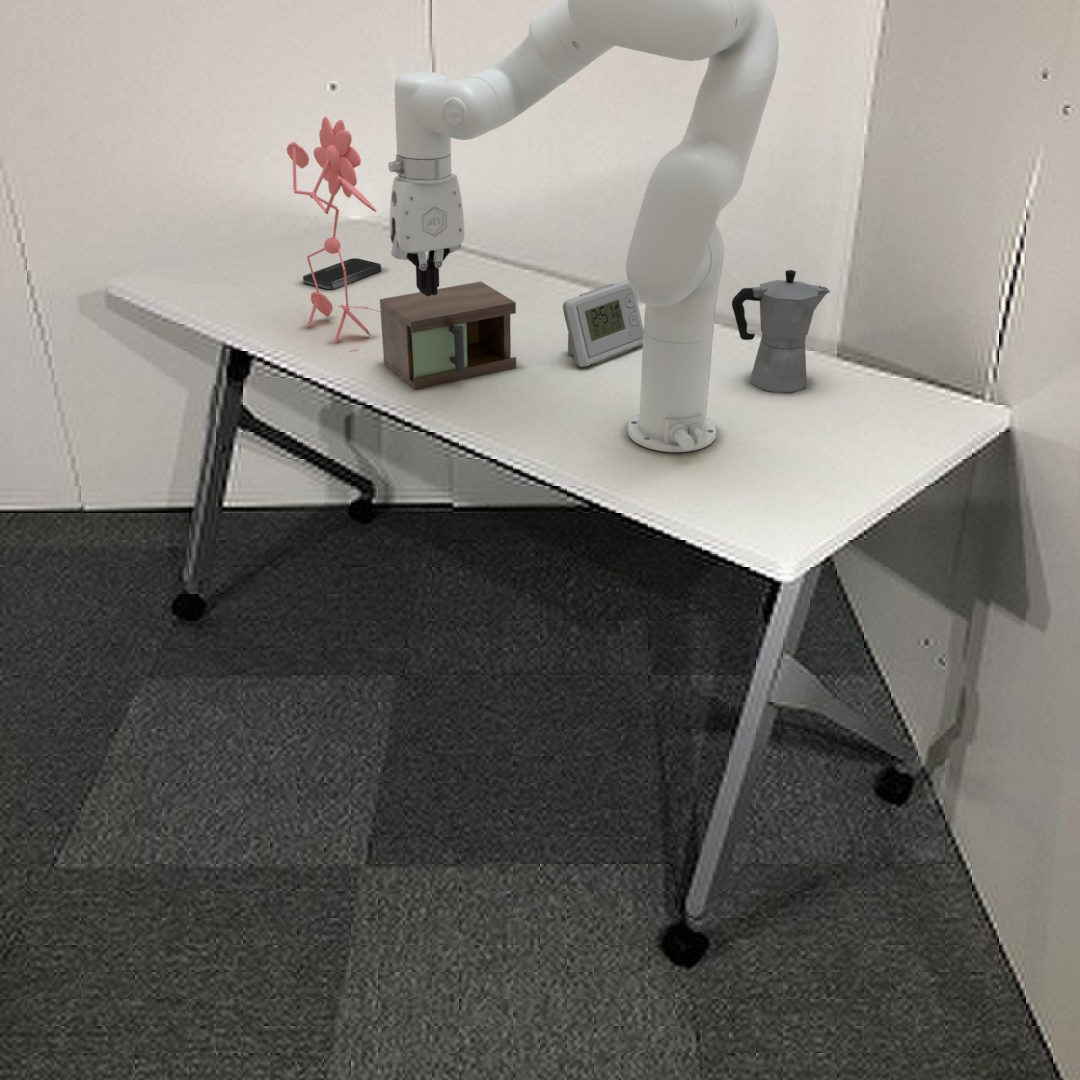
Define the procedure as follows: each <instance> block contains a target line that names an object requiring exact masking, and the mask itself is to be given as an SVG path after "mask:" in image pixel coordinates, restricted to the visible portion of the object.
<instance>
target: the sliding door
mask: <svg viewBox="0 0 1080 1080" xmlns="http://www.w3.org/2000/svg"><path fill="white" fill-rule="evenodd" d="M412 350H413V369H414V378H417V377H422V376H427V375H432V374H436V373H441V372H446V371H451V370H456V371H457V372H463V371H464V368H465V367H468V365H467V330H466V323H462V324H457V325H452V326H447V327H442V328H436V329H431V330H426V331H421V332H416V333H412Z"/></svg>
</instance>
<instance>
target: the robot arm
mask: <svg viewBox="0 0 1080 1080" xmlns="http://www.w3.org/2000/svg"><path fill="white" fill-rule="evenodd" d="M778 33H779V32H778V28H777V23H776V20H775V15H774V14H773V12H772V9H771V7H770V6H769V4H768V2H767V0H556V1H554V2H553V3H551V4H550V5H548V7H546V8H545V9H543V10H542V11H541V12H539V13H538V14H537V15H535V16H534V17H533V18H532V20H530V23H529V25H528V33H527V35H526V37H525V38H524V39H523V40H522V41H521V42H520V43H519V44H518V45H517V46H516V47H514V48H513V49H512V50H511V51H509V52H508V53H506V54H505V55H504V56H503V57H502V58H500V59H498V60H497V61H496V62H495V63H493V64H492V65H490V66H488V68H486V69H484V70H482V71H480V72H476V73H474V74H471V75H468V76H465V77H463V78H458V79H455V80H452V81H451V80H450V81H449V80H448V78H447V77H446V76H445V75H443V74H441V73H439V72H433V71H408V72H404V73H402V74H400V75H398V76H397V77H396V79H395V81H394V91H393V93H394V112H395V114H394V116H395V117H394V118H395V137H396V154H395V160H393V161H389V162H388V170H389V172H390V173H395V174H397V176H394V177H393V180H392V181H393V182H392V186H391V192H390V193H391V194H390V195H391V196H390V206H389V236H390V237H389V238H390V241H391V243H392V247H391V256H392V257H393V258H395V259H397V260H402V261H403V260H404V261H407V260H408V261H409V262H411V264H412V265H413V266H415V283H416V288H417V289H418V291H419V292H421V293H423V294H424V295H426V296H431V295H437V294H438V291H437V289H438V288H439V287H440V268H442V266H443V262H444V261H445V259H446V258H447V257H448V256H449V255H450V254H452V253H454V252H457V251H459V250H461V249H462V244H463V243H464V241H465V219H464V207H463V201H462V200H463V199H462V195H461V193H462V192H461V188H460V183H459V178H458V176H457V174H455V173H452V139H455V140H460V141H468V140H469V141H470V140H473V139H476V138H478V137H480V136H482V135H485V134H487V133H488V132H491V131H493V130H496V129H498V128H500V127H503V126H504V125H507V124H509V122H511V121H512V120H514V119H516V118H517V117H518V116H521V114H523V113H524V112H525V111H527V110H528V109H530V108H531V107H532V106H534V105H536V104H537V103H538V102H540V101H541V100H542V99H544V98H545V97H546V96H548V95H549V94H551V92H553V91H554V90H556V89H557V88H558V87H559V86H561V85H563V84H566V82H568V80H570V79H571V78H573V77H574V76H575V75H576V74H578V73H579V72H581V71H582V70H584V69H585V68H586V67H588V66H589V65H590V64H591V63H593V62H594V61H595V60H597V59H599V58H600V57H601V56H602V55H604V54H605V53H607V52H608V51H610V50H611V49H612V48H614V47H619V48H624V49H628V50H631V51H632V50H633V51H637V52H642V53H645V54H651V55H655V56H660V57H664V58H667V59H672V60H677V61H684V62H695V61H702V60H705V59H708V64H707V68H706V70H705V74H704V76H703V78H702V81H701V83H700V86H699V88H698V91H697V94H696V97H695V101H694V104H693V108H692V112H691V115H690V119H689V122H688V124H687V127H686V130H685V132H684V135H683V137H682V139H681V141H680V142H679V143H678V144H677V146H675V147H674V148H672V149H671V150H670V151H668V152H667V153H665V155H663V156H662V158H661V159H659V161H658V163H657V164H656V166H655V167H654V169H653V171H652V173H651V175H650V178H649V180H648V182H647V186H646V189H645V192H644V194H643V199H642V201H641V204H640V209H639V212H638V216H637V219H636V222H635V226H634V229H633V233H632V236H631V240H630V243H629V246H628V250H627V255H626V262H625V272H626V279H627V280H628V282H629V284H630V287H631V288H632V290H633V292H634V293H635V294H636V297H637V298H638V299H640V301H642V302H644V303H645V306H644V307H645V308H644V318H643V329H644V334H643V344H642V352H641V353H642V354H641V355H642V356H641V373H640V376H641V377H640V378H641V379H640V395H639V396H640V397H639V413H638V414H637V415H635V416H633V417H632V418H630V419H629V421H628V423H627V424H628V425H627V435H628V436H629V438H630V439H631V440H632V441H633V442H635V444H637V445H638V446H641V447H644V448H646V449H650V450H653V451H658V452H665V453H688V452H693V451H697V450H702V449H704V448H706V447H708V446H710V445H711V444H712V443H713V442H714V441H715V439H716V437H717V427H716V425H715V424H714V422H713V421H711V420H710V419H709V418H707V413H708V401H709V388H710V377H711V366H712V353H713V342H714V341H713V340H714V332H715V331H714V330H715V321H716V309H717V302H718V301H717V300H718V295H719V287H720V283H721V277H722V272H723V267H724V266H723V265H724V258H725V245H724V238H723V235H722V232H721V230H720V228H719V226H718V225H717V221H718V218H719V215H720V213H721V211H722V210H723V209H724V208H726V207H727V206H728V205H729V204H730V203H731V202H732V201H733V199H735V197H736V196H737V195H738V193H739V191H740V190H741V187H742V184H743V181H744V177H745V173H746V170H747V167H748V163H749V160H750V157H751V154H752V151H753V148H754V144H755V142H756V139H757V135H758V132H759V130H760V127H761V122H762V118H763V116H764V112H765V109H766V106H767V103H768V100H769V97H770V94H771V91H772V88H773V83H774V80H775V77H776V72H777V67H778V59H779V50H780V49H779V47H780V46H779V44H780V43H779V34H778ZM426 252H427V254H426Z"/></svg>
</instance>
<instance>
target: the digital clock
mask: <svg viewBox="0 0 1080 1080" xmlns="http://www.w3.org/2000/svg"><path fill="white" fill-rule="evenodd" d="M562 311H563V316H564V320H565V324H566V329H567V335H568V336H567V354H568V355H569V356H572V357H573V358H574V362H575V364H576V365H577V366H578V367H580V368H585V367H588V366H590V365H591V366H592V365H598V364H600V363H603V362H605V361H608V360H610V359H613V358H616V357H618V356H621V355H624V354H626V353H628V352H631V351H632V349H634V348H637V347H639V346H643V334H644V323H643V320H642V316H641V311H640V307H639V302H638V296H637V295H636V294H635V293H634V292H633V290H632V288H631V287H630V284H629V282H628V279H627V280H623V281H620V282H617V283H611V284H608V285H604V286H602V287H598V288H596V289H592V290H590V291H587V292H584V293H580V294H579V295H578V296H576V297H572V298H569V299H567V300H565V301H564V302H563V304H562Z"/></svg>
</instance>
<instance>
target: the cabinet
mask: <svg viewBox="0 0 1080 1080" xmlns="http://www.w3.org/2000/svg"><path fill="white" fill-rule="evenodd" d="M437 291H438V294H437V295H431V296H426V295H424V294H423V293H421V292H420V291H419V292H418V291H417V292H412V293H408V294H402V295H396V296H391V297H390V296H389V297H385V298H379V308H380V309H379V311H381V312H380V324H381V335H382V336H381V339H382V354H383V355H382V356H383V365H384V366H385V367H386V368H387V369H389V370H390V371H391V372H392V373H394V374H395V375H396V376H397V377H399V378H400V379H401V380H403V382H404V383H406V384H407V385H409V387H411V388H412V389H413V390H419V389H424V388H428V387H433V386H438V385H443V384H447V383H451V382H455V381H456V382H457V381H462V380H467V379H470V378H476V377H480V376H484V375H489V374H493V373H498V372H502V371H503V372H504V371H508V370H512V369H516V368H517V356H513V357H511V356H512V354H511V353H512V352H511V351H512V350H511V349H512V347H511V346H512V345H511V342H512V341H511V337H512V336H511V315H514V314H516V313H517V302H516V301H514V300H512V299H511V298H509V297H508V296H506V295H504V294H503V293H501V292H499V291H497V290H496V289H495V288H493V287H491V286H490V285H488V284H486V283H484V282H483V281H476V282H470V283H469V282H468V283H464V284H457V285H453V286H447V287H441V288H437ZM462 323H466V330H467V365H468V367H465V368H464V371H463V372H457V371H456V370H451V371H446V372H441V373H436V374H432V375H427V376H422V377H417V378H414V369H413V350H412V333H416V332H421V331H426V330H431V329H436V328H442V327H447V326H452V325H457V324H462Z"/></svg>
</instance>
